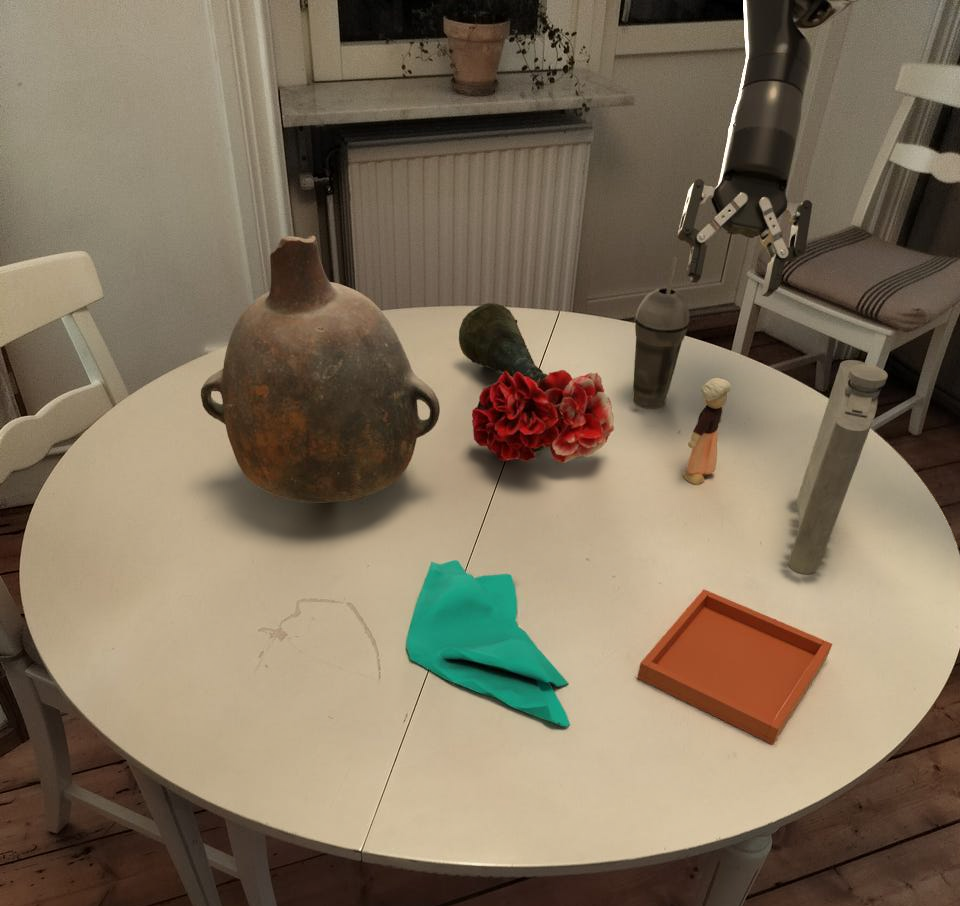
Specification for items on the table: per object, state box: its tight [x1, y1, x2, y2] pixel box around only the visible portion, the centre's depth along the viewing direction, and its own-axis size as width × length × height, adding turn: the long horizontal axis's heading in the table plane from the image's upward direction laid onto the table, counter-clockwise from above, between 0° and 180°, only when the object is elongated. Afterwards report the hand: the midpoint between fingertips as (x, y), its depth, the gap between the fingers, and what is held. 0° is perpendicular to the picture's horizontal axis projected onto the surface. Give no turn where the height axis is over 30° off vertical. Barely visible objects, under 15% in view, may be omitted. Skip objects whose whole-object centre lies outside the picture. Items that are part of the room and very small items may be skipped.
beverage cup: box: [632, 257, 691, 409], centre depth 115 cm, size 7×7×20 cm
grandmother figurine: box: [682, 377, 732, 485], centre depth 104 cm, size 8×4×13 cm, turn 155°
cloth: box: [405, 559, 571, 728], centre depth 84 cm, size 26×14×2 cm, turn 16°
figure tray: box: [637, 588, 833, 745], centre depth 82 cm, size 14×14×2 cm
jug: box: [200, 235, 441, 504], centre depth 94 cm, size 24×21×30 cm
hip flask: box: [787, 359, 889, 575], centre depth 92 cm, size 16×4×20 cm, turn 161°
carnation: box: [458, 302, 615, 464], centre depth 113 cm, size 16×18×35 cm
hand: (731, 287), depth 99 cm, fingers open, 8 cm apart
